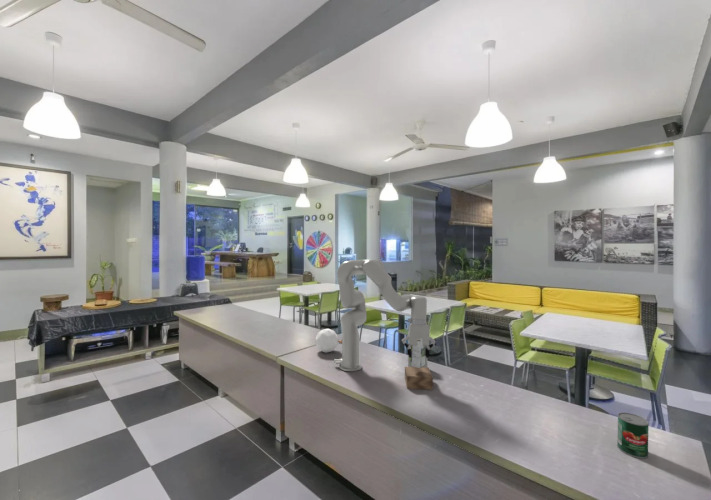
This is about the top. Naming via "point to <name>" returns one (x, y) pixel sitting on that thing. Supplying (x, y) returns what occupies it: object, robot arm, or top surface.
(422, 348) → the syrup box
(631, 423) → the canned tomato
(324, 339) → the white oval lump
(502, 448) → the top surface
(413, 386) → the walnut block
